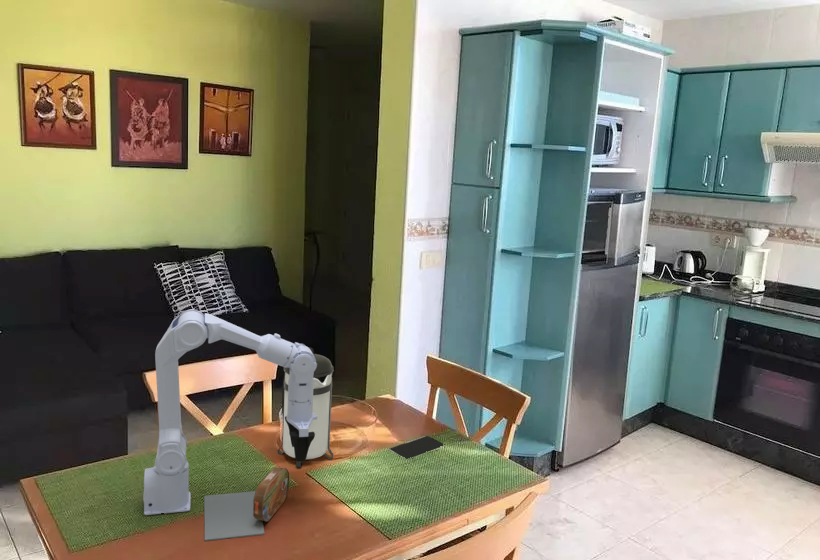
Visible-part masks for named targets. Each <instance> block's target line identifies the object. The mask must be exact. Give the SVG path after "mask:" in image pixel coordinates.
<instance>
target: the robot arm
mask: <svg viewBox="0 0 820 560" xmlns="http://www.w3.org/2000/svg"><path fill="white" fill-rule="evenodd" d="M206 340H207V342H208V343H207V344H213V343H215V342H218V341H220V340H223V341H226V342H230V343H232V344H235V345H238V346H242V347H244V348H247V349H250V350H253V351H255V352H256V354H257V357H258V358H260V359H261V360H265V361H267V362H270V363H272V364H274V365H277V366H280V367H283V368H284V367H288V368H290V377H289V382H288V412H287V416H286V417H285V421H286V422H287V425H288V427H289V434H290V439H291V444H292V447H294V452H295V458H294V459H295V461H303V462H305V461H306V460H307V459H306V457H307V453H308V450H309V446H310V444H311V442H312V440H313V439H314V437H315V433H314V432H309V426H310V424H311V422H312V421H313V420H316V419H317V414H312V410H313V386H314V379H313V375H314V371H315V369H316V367H317V363H316V359H315V357H314V355H313V354H314V353H312V351H311V350H310V349H309V347H308V346H306V345H305V344H304V343H299V342H298V341H297V342H296V341H295V342H294V343H293V342H291V341H289V340H286V339H284V338H281V335H280V334H278V333H274V334H270V333H267V334H264V335H258V334H256V333H253V332H251V331H249V330H247V329H246V328H243V327H241V326H237V325H236V324H233V323H231V322H228V321H227V320H224V319H222V318H219V317H217V316H215V315H213V314H211V313H202V312H201V311H199V310H197V309H187V310H185V311H182V313H181V314H178V316H176V317H175V318H174V319H173V320H172V322H171V324H170V325H169V327H168V328H167V330H166V331H165V333H164V334H163V336H162V338H161V339H160V341H159V342H158V343H157V346H156V349H155V351H154V352H155V353H154V356H155V357H154V358H155V359H154V360H155V376H156V391H157V392H156V394H157V395H156V396H157V411H158V429H159V430H158V432H159V433H158V441H157V450H156V457H155V460H154V465H153V466H152V467H148V468H147V467H146V468H145V469H144V477H143V495H142V496H143V497H142V501H143V510H144V511H143V515H144V516H152V515H153V516H154V515H162V514H161V513H164V514H172V513H182V512H183V513H184V512H189V511H191V496H192V493H191V492H190V491H189V487H190V485H189V481H190V479H189V478H190V476H189V475H190V474H189V473H190V472H189V471H190V469H189V467H190V464H189V463H190V462H188V460H187V456H186V455H187V448H188V447H187V445H188V441H187V437H186V436H185V434H184V433H183V424H182V417H181V415H182V414H181V394H180V373H179V372H180V371H179V370H180V369H179V359H180V358H181V357H182V356H184V355H185V354H186V353H187V352H190V351H192V350H194V349H197V348H199V347H201V346H202V345H204V343H205V342H206Z"/></svg>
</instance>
